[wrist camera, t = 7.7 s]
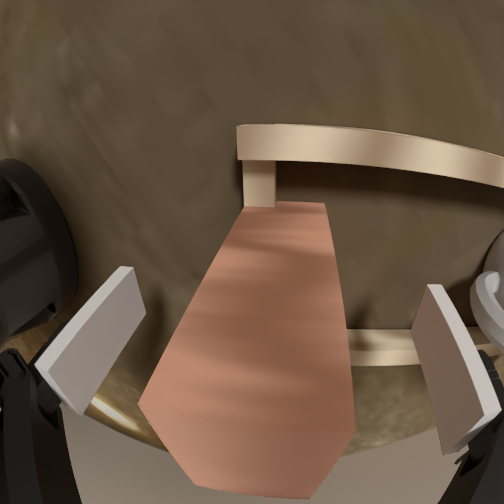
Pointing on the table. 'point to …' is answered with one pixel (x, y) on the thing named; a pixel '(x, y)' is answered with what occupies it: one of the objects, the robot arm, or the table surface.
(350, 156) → the frame
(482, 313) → the cup
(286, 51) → the table surface
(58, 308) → the robot arm
